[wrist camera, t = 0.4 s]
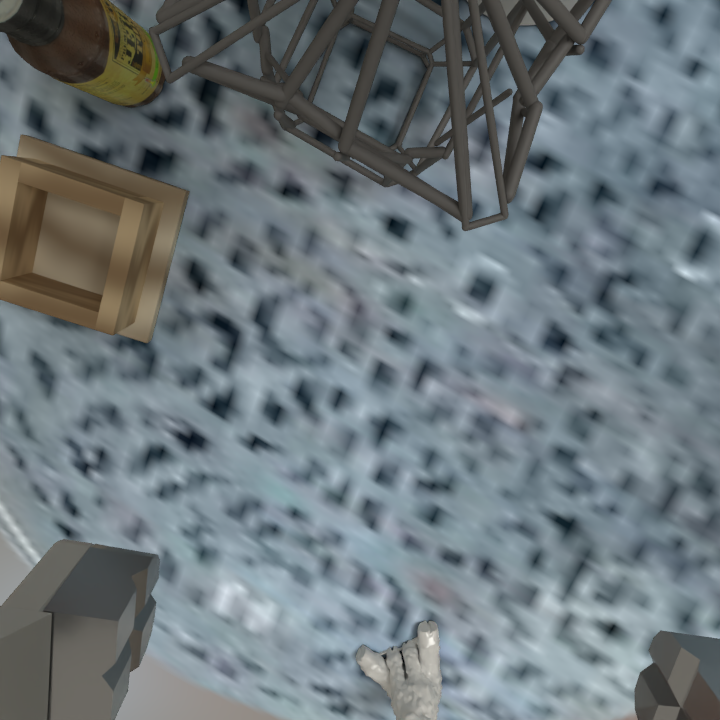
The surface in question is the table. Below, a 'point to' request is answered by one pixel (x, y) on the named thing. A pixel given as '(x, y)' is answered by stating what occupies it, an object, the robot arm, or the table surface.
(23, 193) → the square wooden tray
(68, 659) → the robot arm
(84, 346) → the table surface
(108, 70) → the sauce bottle
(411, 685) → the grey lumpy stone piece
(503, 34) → the geometric lantern
